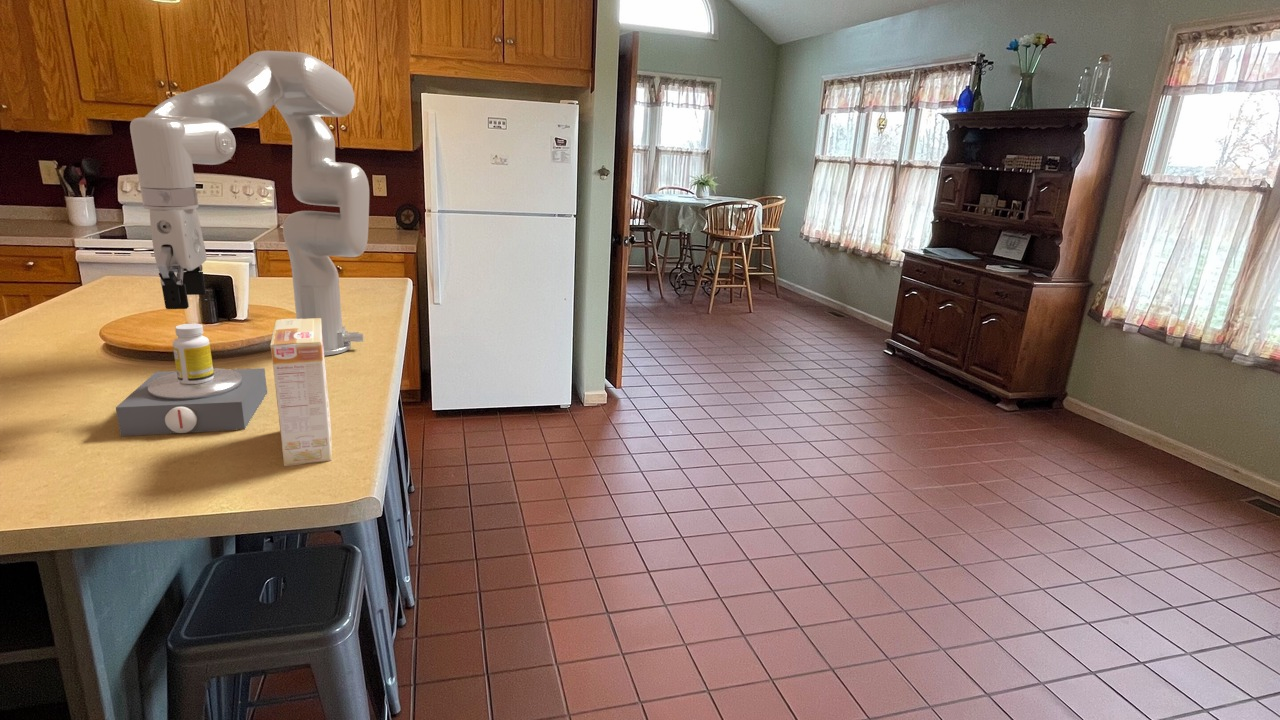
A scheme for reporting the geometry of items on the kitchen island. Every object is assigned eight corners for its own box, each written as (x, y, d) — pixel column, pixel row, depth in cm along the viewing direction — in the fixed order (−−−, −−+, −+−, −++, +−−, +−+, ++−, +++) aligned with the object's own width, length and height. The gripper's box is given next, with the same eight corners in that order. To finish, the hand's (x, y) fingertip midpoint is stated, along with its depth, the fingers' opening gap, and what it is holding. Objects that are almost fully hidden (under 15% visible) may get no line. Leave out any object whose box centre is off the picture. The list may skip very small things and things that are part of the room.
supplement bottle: (221, 376, 125) (214, 323, 122) (200, 386, 120) (192, 331, 117) (192, 374, 125) (185, 321, 122) (170, 383, 120) (162, 328, 117)
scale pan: (250, 372, 131) (249, 367, 130) (231, 398, 118) (230, 392, 118) (164, 375, 127) (163, 369, 126) (135, 402, 114) (134, 396, 114)
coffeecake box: (286, 429, 119) (274, 318, 113) (331, 425, 122) (322, 316, 116) (281, 467, 106) (268, 344, 100) (332, 461, 109) (322, 341, 103)
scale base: (267, 392, 135) (264, 368, 133) (243, 431, 117) (240, 404, 116) (159, 397, 130) (155, 371, 128) (118, 438, 112) (113, 409, 111)
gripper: (179, 205, 106) (196, 314, 112) (211, 193, 122) (225, 289, 127) (122, 204, 104) (142, 315, 110) (162, 192, 120) (178, 289, 125)
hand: (186, 301), depth 118 cm, fingers open, 9 cm apart
